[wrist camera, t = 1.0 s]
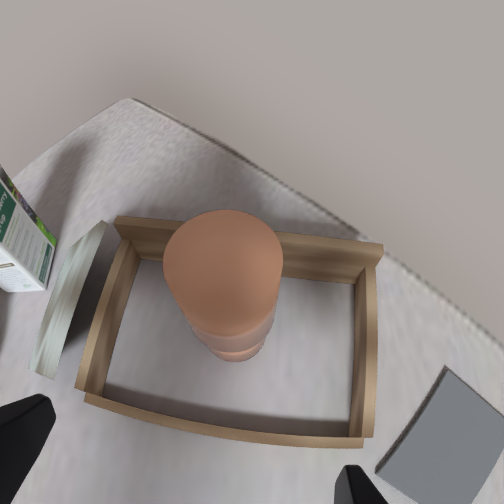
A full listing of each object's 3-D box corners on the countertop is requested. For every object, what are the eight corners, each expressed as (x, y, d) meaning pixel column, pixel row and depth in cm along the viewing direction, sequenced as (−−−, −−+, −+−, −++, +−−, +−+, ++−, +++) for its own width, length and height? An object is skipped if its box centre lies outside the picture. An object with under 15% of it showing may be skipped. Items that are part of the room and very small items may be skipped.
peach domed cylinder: (231, 382, 22) (213, 340, 12) (185, 329, 24) (141, 253, 14) (285, 334, 23) (308, 260, 14) (238, 286, 26) (229, 192, 16)
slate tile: (452, 524, 14) (455, 525, 13) (374, 473, 17) (377, 474, 17) (510, 427, 17) (513, 426, 17) (445, 371, 21) (448, 369, 21)
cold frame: (356, 447, 19) (385, 450, 14) (29, 378, 21) (-12, 360, 16) (362, 278, 26) (384, 241, 21) (75, 243, 28) (50, 207, 23)
